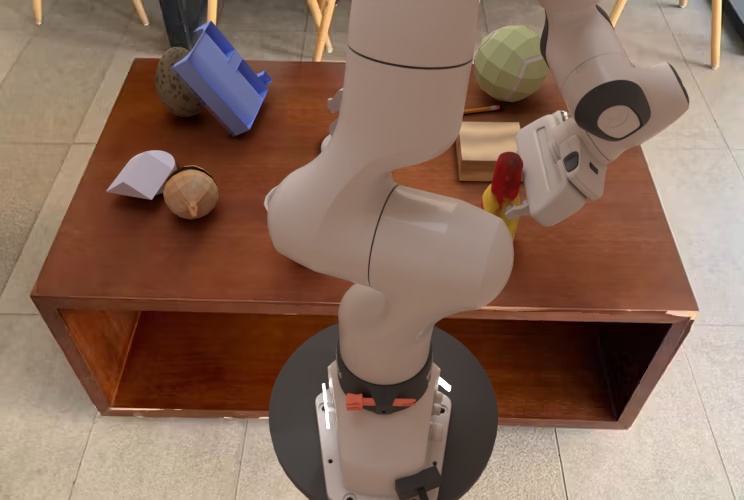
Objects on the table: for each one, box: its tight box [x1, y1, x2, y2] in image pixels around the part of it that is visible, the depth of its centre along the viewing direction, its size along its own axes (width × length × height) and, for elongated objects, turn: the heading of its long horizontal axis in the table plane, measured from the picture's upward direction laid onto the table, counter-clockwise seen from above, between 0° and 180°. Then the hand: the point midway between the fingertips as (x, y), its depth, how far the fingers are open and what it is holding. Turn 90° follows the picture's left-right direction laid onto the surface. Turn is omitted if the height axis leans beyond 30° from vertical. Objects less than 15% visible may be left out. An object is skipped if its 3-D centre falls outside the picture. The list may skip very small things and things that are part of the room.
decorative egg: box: [154, 46, 208, 118], centre depth 137 cm, size 11×11×15 cm
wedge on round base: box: [105, 149, 178, 201], centre depth 124 cm, size 9×7×13 cm
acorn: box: [161, 164, 220, 220], centre depth 118 cm, size 9×9×15 cm
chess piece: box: [320, 87, 343, 153], centre depth 129 cm, size 10×10×15 cm
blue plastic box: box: [171, 20, 273, 137], centre depth 136 cm, size 18×16×7 cm
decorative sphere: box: [473, 24, 549, 103], centre depth 141 cm, size 15×15×15 cm
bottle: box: [480, 152, 523, 243], centre depth 109 cm, size 12×6×20 cm, turn 171°
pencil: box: [463, 104, 501, 115], centre depth 142 cm, size 1×1×19 cm
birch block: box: [455, 121, 524, 183], centre depth 130 cm, size 12×12×5 cm
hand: (503, 194), depth 107 cm, fingers closed on bottle, 8 cm apart
